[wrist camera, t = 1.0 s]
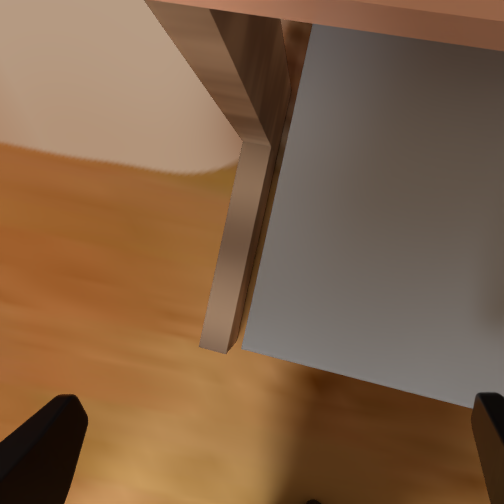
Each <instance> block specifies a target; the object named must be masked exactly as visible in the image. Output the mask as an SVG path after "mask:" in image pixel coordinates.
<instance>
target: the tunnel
mask: <svg viewBox="0 0 504 504" xmlns="http://www.w3.org/2000/svg"><path fill="white" fill-rule="evenodd" d="M144 1H145V2H146V4H147V5H148V7H149V8H150V9H151V11H152V12H153V14H154V15H155V16H156V18H157V19H158V21H159V22H160V24H161V25H162V27H163V28H164V29H165V31H166V32H167V34H168V35H169V37H170V38H171V39H172V41H173V42H174V44H175V45H176V47H177V48H178V49H179V51H180V52H181V54H182V55H183V57H184V58H185V59H186V61H187V62H188V64H189V65H190V67H191V68H192V69H193V71H194V72H195V74H196V75H197V77H198V78H199V79H200V81H201V82H202V84H203V85H204V86H205V88H206V89H207V91H208V92H209V94H210V95H211V97H212V98H213V99H214V101H215V102H216V104H217V105H218V107H219V108H220V109H221V111H222V112H223V114H224V115H225V116H226V118H227V119H228V121H229V122H230V124H231V125H232V126H233V128H234V129H235V131H236V132H237V134H238V135H239V137H240V138H241V139H242V141H243V144H242V148H241V153H240V158H239V162H238V167H237V172H236V176H235V181H234V185H233V190H232V195H231V199H230V204H229V209H228V213H227V218H226V223H225V227H224V232H223V237H222V241H221V246H220V251H219V255H218V260H217V265H216V269H215V274H214V279H213V283H212V288H211V293H210V297H209V302H208V307H207V311H206V316H205V320H204V325H203V330H202V334H201V339H200V344H199V347H201V348H204V349H208V350H212V351H216V352H220V353H223V354H227V352H228V351H229V350H230V349H231V347H232V346H233V345H234V344H235V343H236V341H237V336H238V332H239V327H240V323H241V318H242V314H243V309H244V304H245V300H246V295H247V291H248V286H249V282H250V277H251V272H252V268H253V263H254V259H255V254H256V250H257V245H258V240H259V236H260V231H261V227H262V222H263V218H264V213H265V208H266V204H267V199H268V195H269V190H270V186H271V181H272V177H273V172H274V167H275V163H276V158H277V154H278V149H279V145H280V140H281V135H282V131H283V126H284V122H285V117H286V113H287V108H288V103H289V99H290V94H291V84H290V78H289V72H288V65H287V59H286V52H285V46H284V39H283V33H282V27H281V21H280V19H285V20H292V21H299V22H306V23H313V24H320V25H327V26H333V27H340V28H347V29H354V30H361V31H368V32H375V33H381V34H388V35H395V36H402V37H409V38H416V39H423V40H430V41H436V42H443V43H450V44H457V45H464V46H471V47H478V48H484V49H491V50H498V51H504V0H144Z"/></svg>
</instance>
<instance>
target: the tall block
mask: <svg viewBox="0 0 504 504" xmlns="http://www.w3.org/2000/svg"><path fill="white" fill-rule="evenodd" d="M241 349H244V350H248V351H251V352H255V353H259V354H263V355H267V356H271V357H275V358H278V359H282V360H286V361H290V362H294V363H298V364H302V365H305V366H309V367H313V368H317V369H321V370H325V371H329V372H333V373H336V374H340V375H344V376H348V377H352V378H356V379H360V380H363V381H367V382H371V383H375V384H379V385H383V386H387V387H391V388H394V389H398V390H402V391H406V392H410V393H414V394H418V395H421V396H425V397H429V398H433V399H437V400H441V401H445V402H448V403H452V404H456V405H460V406H464V407H468V408H472V409H473V406H474V400H475V396H476V394H477V393H479V392H497V393H499V394H501V395H502V396H503V397H504V51H498V50H491V49H484V48H478V47H471V46H464V45H457V44H450V43H443V42H436V41H430V40H423V39H416V38H409V37H402V36H395V35H388V34H381V33H375V32H368V31H361V30H354V29H347V28H340V27H333V26H327V25H320V24H313V25H312V30H311V34H310V39H309V43H308V48H307V52H306V57H305V62H304V66H303V71H302V75H301V80H300V84H299V89H298V93H297V98H296V102H295V107H294V112H293V116H292V121H291V125H290V130H289V134H288V139H287V143H286V148H285V153H284V157H283V162H282V166H281V171H280V175H279V180H278V184H277V189H276V194H275V198H274V203H273V207H272V212H271V216H270V221H269V225H268V230H267V234H266V239H265V244H264V248H263V253H262V257H261V262H260V266H259V271H258V275H257V280H256V285H255V289H254V294H253V298H252V303H251V307H250V312H249V316H248V321H247V326H246V330H245V335H244V339H243V344H242V348H241Z"/></svg>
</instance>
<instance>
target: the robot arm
mask: <svg viewBox="0 0 504 504" xmlns="http://www.w3.org/2000/svg"><path fill="white" fill-rule="evenodd" d="M471 423H472V429H473V434H474V438H475V442H476V446H477V450H478V454H479V458H480V462H481V466H482V470H483V474H484V478H485V482H486V487H487V491H488V494H489V498H490V502H491V504H504V397H503V396H502V395H501V394H499V393H497V392H479V393H477V394H476V396H475V400H474V406H473V412H472V417H471ZM87 426H88V416H87V414H86V412H85V410H84V408H83V406H82V404H81V402H80V401H79V399H78V397H77V396H76V395H73V394H61V395H58V396H56V397H55V398H53V399H52V400H51V401H50V402H49V403H47V404H46V405H45V406H44V407H43V408H41V409H40V410H39V411H38V412H37V413H35V414H34V415H33V416H32V417H30V418H29V419H28V420H27V421H26V422H24V423H23V424H22V425H21V426H20V427H18V428H17V429H16V430H15V431H14V432H12V433H11V434H10V435H9V436H8V437H6V438H5V439H4V440H3V441H2V442H0V504H64V503H65V500H66V497H67V494H68V492H69V489H70V486H71V483H72V479H73V476H74V472H75V469H76V465H77V462H78V458H79V455H80V451H81V448H82V444H83V440H84V437H85V433H86V430H87ZM306 504H321V503H320V502H318V501H317V500H309V501H308V502H307V503H306Z"/></svg>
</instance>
